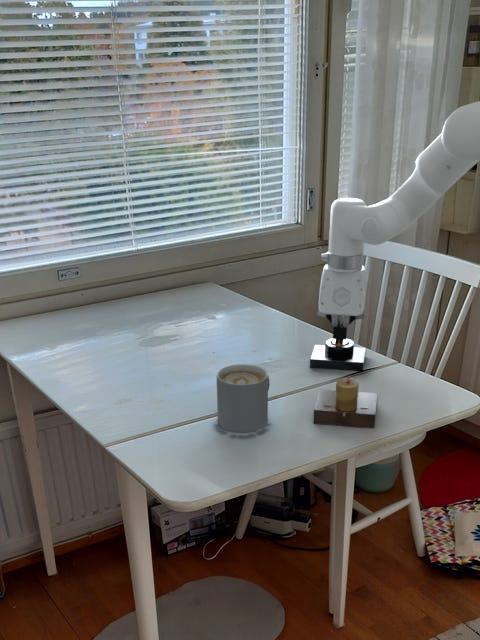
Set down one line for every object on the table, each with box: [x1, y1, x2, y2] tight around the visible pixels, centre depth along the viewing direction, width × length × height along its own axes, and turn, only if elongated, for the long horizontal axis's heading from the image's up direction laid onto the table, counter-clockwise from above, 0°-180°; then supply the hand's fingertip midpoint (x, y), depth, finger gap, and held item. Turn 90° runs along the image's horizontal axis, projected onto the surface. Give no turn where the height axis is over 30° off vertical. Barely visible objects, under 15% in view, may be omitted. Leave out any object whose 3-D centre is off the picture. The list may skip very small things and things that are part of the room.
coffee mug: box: [216, 363, 270, 434], centre depth 154 cm, size 13×10×10 cm
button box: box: [309, 337, 367, 373], centre depth 180 cm, size 12×10×4 cm
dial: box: [335, 376, 360, 411], centre depth 153 cm, size 4×4×5 cm
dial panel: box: [312, 388, 379, 429], centre depth 157 cm, size 12×12×3 cm
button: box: [332, 340, 348, 346], centre depth 180 cm, size 4×4×2 cm
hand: (339, 341), depth 180 cm, fingers closed
